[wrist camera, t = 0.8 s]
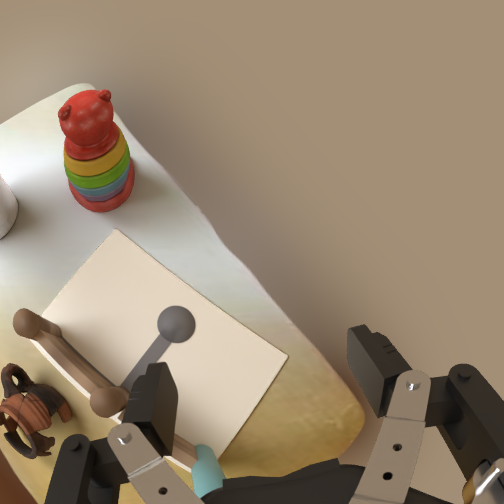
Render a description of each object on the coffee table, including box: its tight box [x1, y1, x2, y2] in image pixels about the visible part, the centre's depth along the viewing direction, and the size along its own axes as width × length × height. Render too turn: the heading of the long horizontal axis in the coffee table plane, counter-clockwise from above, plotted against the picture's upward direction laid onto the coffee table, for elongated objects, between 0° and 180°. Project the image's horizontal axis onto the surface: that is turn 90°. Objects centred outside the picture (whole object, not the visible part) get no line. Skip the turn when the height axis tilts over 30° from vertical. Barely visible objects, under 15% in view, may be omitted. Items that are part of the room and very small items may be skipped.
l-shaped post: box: [118, 409, 226, 498], centre depth 22 cm, size 12×3×20 cm, turn 56°
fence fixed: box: [13, 308, 130, 418], centre depth 28 cm, size 15×3×8 cm, turn 56°
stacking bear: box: [58, 89, 134, 212], centre depth 34 cm, size 11×10×18 cm
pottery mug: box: [0, 363, 72, 459], centre depth 26 cm, size 12×9×8 cm
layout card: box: [30, 229, 288, 473], centre depth 35 cm, size 29×20×1 cm
